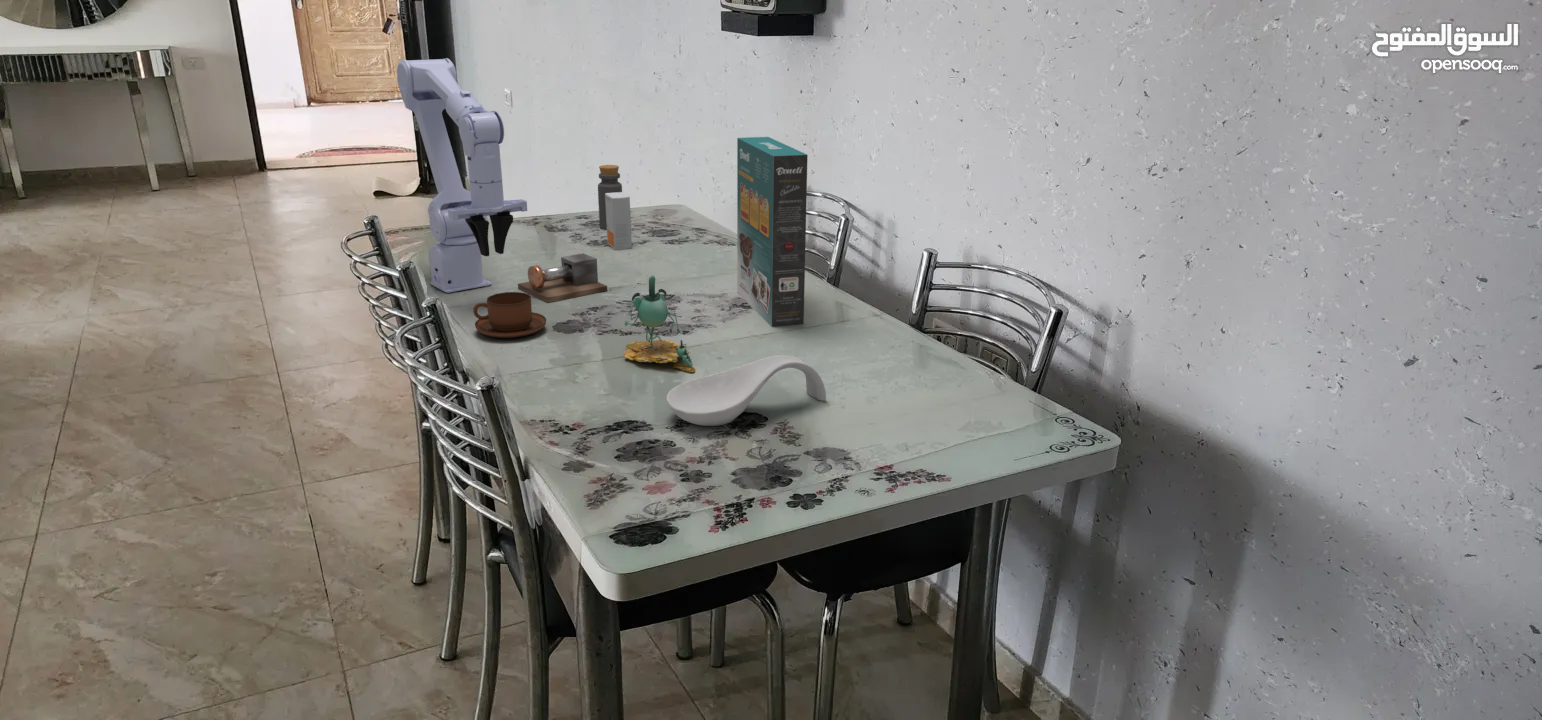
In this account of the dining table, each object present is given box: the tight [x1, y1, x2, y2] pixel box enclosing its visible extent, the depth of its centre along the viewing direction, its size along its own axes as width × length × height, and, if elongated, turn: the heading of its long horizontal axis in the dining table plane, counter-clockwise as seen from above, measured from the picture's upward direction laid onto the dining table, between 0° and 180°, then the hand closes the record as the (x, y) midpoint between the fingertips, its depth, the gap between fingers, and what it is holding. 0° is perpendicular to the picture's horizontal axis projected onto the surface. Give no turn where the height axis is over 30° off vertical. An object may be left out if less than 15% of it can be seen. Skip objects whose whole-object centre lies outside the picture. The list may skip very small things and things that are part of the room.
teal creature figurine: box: [623, 275, 696, 374], centre depth 162 cm, size 10×18×15 cm, turn 31°
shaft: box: [527, 265, 573, 289], centre depth 197 cm, size 9×4×4 cm, turn 130°
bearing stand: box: [517, 253, 608, 304], centre depth 198 cm, size 13×12×6 cm
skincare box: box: [605, 191, 633, 251], centre depth 230 cm, size 6×4×12 cm
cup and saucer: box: [472, 291, 547, 339], centre depth 174 cm, size 12×12×6 cm
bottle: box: [597, 164, 623, 230], centre depth 248 cm, size 6×6×15 cm
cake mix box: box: [736, 136, 808, 328], centre depth 185 cm, size 22×6×30 cm, turn 18°
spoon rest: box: [665, 354, 827, 427], centre depth 143 cm, size 24×12×7 cm, turn 119°
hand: (492, 254), depth 187 cm, fingers closed
